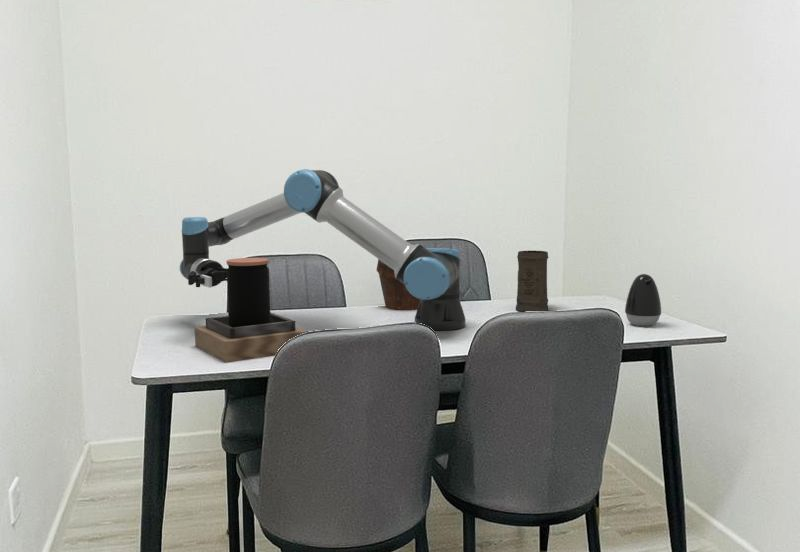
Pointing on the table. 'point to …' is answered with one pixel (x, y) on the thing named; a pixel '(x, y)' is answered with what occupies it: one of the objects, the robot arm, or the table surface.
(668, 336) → the table surface
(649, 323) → the black rounded piece
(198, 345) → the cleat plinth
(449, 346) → the table surface
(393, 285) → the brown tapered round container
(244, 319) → the coffee jar
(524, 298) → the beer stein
